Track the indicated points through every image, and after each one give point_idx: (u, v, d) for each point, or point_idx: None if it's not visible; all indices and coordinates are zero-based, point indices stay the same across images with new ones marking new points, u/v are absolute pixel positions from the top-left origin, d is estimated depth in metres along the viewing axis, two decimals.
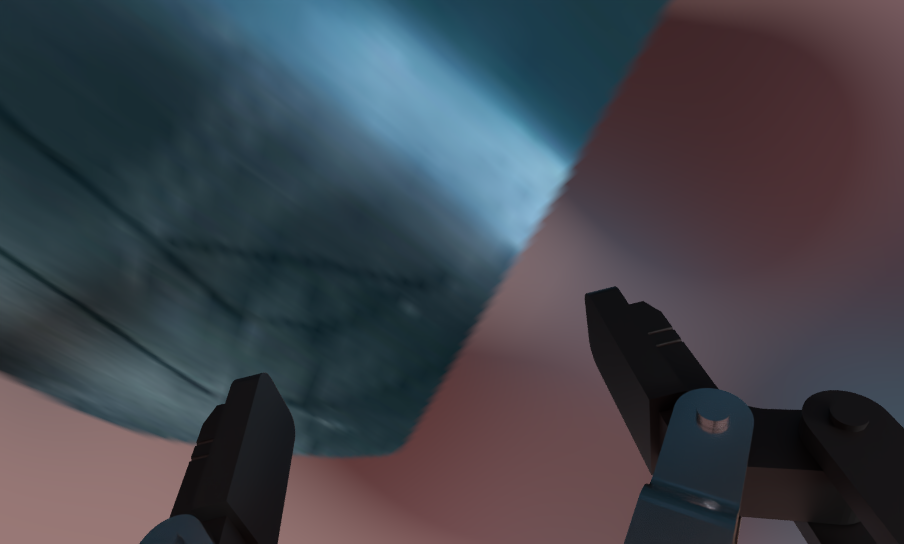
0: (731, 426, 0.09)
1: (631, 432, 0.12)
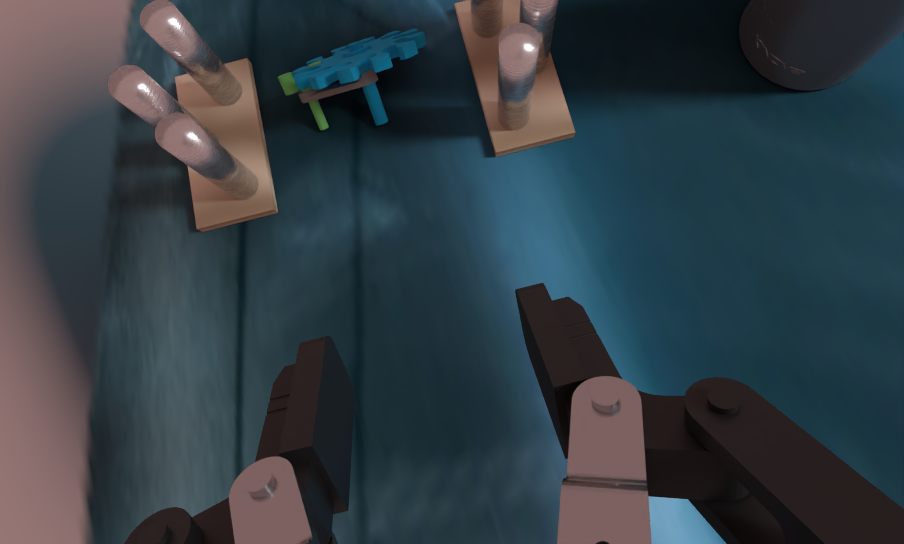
0: (620, 410, 0.09)
1: (552, 419, 0.12)
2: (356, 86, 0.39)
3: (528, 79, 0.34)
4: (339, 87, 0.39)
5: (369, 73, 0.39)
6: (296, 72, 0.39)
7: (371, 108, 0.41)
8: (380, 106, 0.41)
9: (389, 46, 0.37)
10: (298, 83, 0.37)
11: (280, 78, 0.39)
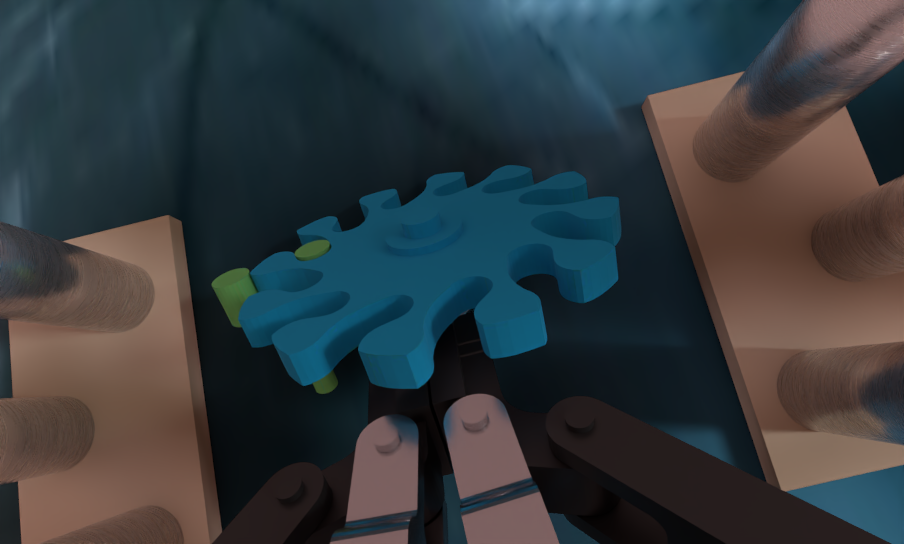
0: (485, 428, 0.10)
1: None
2: None
3: None
4: None
5: None
6: (260, 275, 0.15)
7: None
8: None
9: (524, 244, 0.13)
10: (252, 333, 0.13)
11: (216, 289, 0.15)
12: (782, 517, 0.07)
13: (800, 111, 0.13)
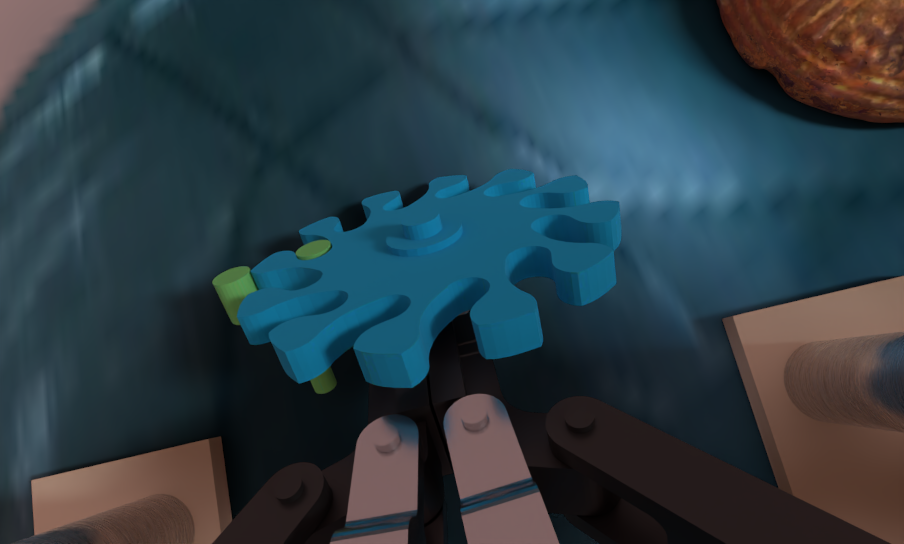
0: (484, 428, 0.10)
1: None
2: None
3: None
4: None
5: None
6: (260, 273, 0.15)
7: None
8: None
9: (523, 246, 0.13)
10: (249, 330, 0.13)
11: (217, 286, 0.15)
12: (781, 517, 0.07)
13: None
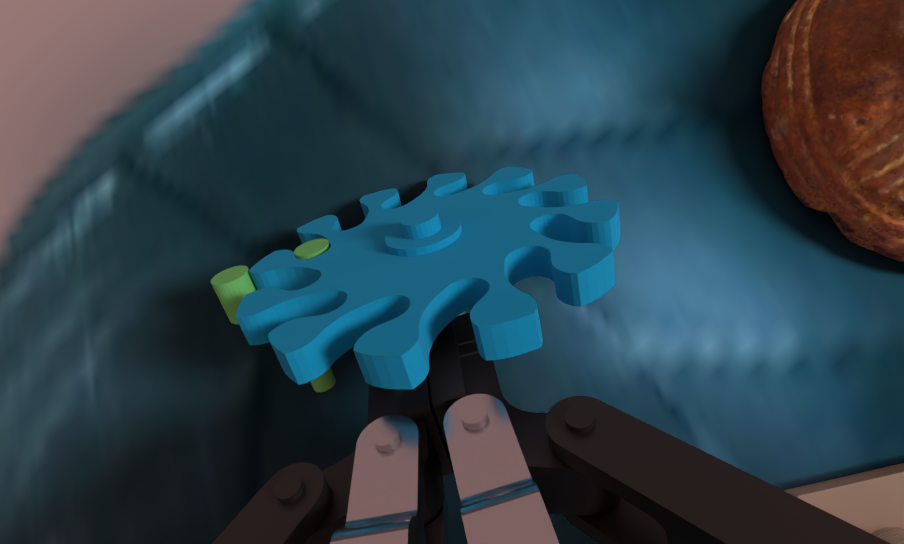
0: (484, 428, 0.10)
1: None
2: None
3: None
4: None
5: None
6: (259, 273, 0.15)
7: None
8: None
9: (522, 246, 0.13)
10: (249, 331, 0.13)
11: (215, 286, 0.15)
12: (783, 517, 0.07)
13: None
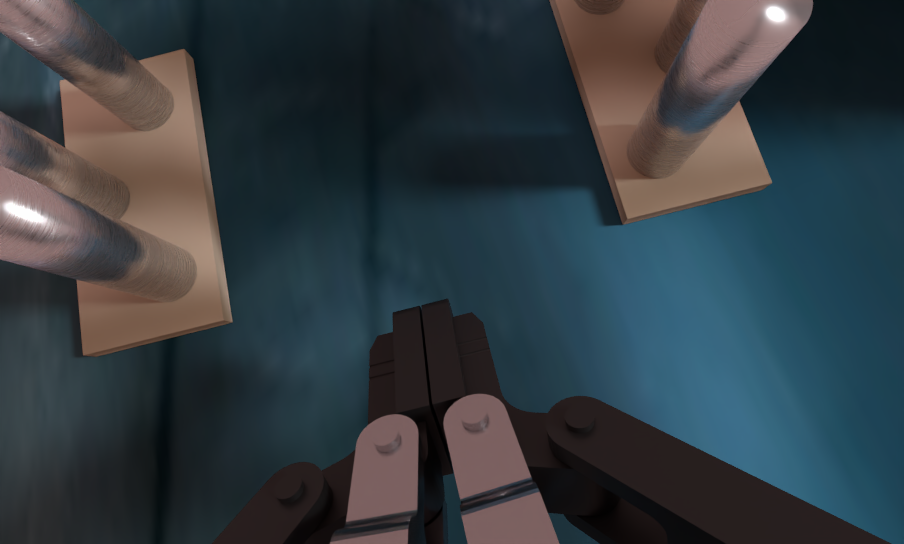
0: (484, 428, 0.10)
1: None
2: None
3: (749, 87, 0.16)
4: None
5: None
6: None
7: None
8: None
9: None
10: None
11: None
12: (782, 516, 0.07)
13: None
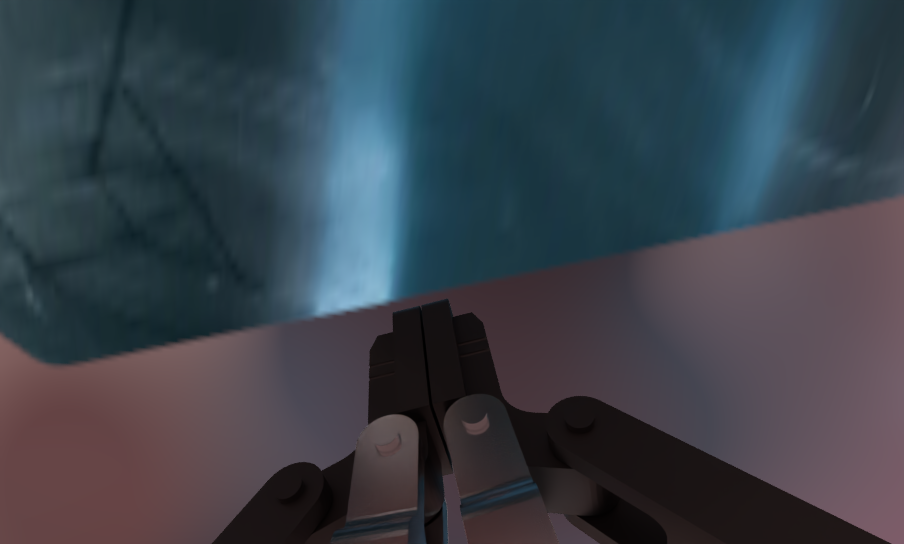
0: (485, 428, 0.10)
1: None
2: None
3: None
4: None
5: None
6: None
7: None
8: None
9: None
10: None
11: None
12: (782, 517, 0.07)
13: None
